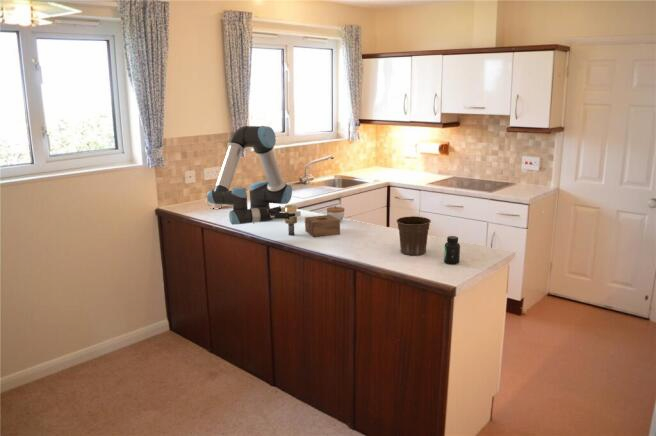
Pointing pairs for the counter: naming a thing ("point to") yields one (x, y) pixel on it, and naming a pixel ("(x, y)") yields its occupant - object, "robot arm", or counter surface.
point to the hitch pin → (291, 218)
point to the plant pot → (413, 234)
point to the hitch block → (322, 226)
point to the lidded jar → (336, 212)
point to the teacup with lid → (213, 205)
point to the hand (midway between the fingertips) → (296, 211)
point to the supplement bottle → (452, 251)
